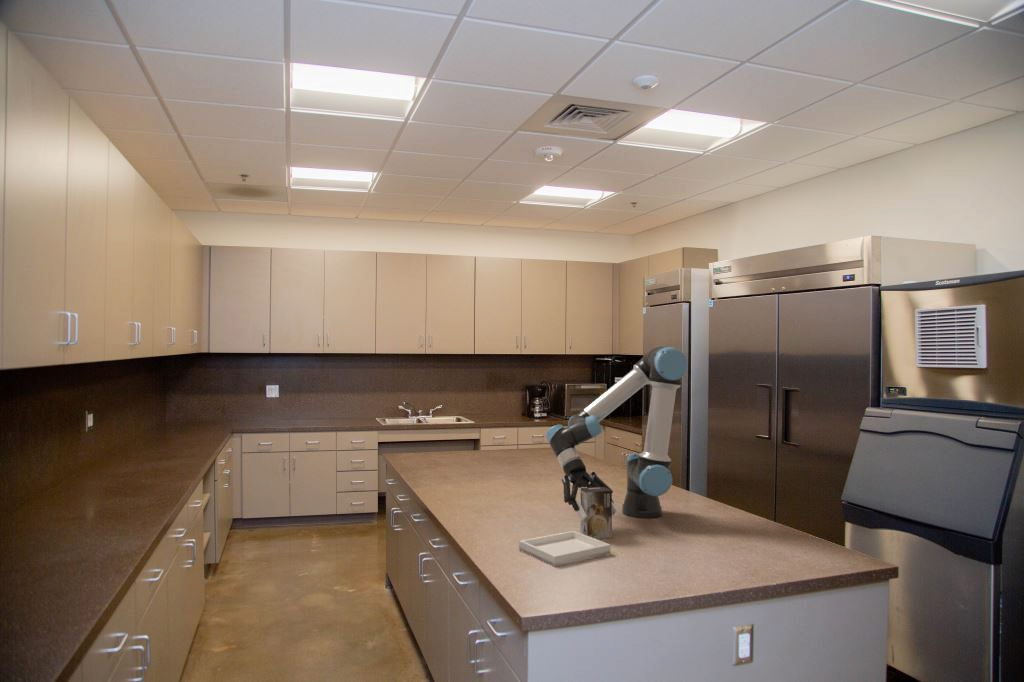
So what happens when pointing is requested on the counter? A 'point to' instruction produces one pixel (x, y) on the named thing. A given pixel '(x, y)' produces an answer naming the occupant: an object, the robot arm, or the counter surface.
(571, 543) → the white tray
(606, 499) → the coffee box
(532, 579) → the counter surface
